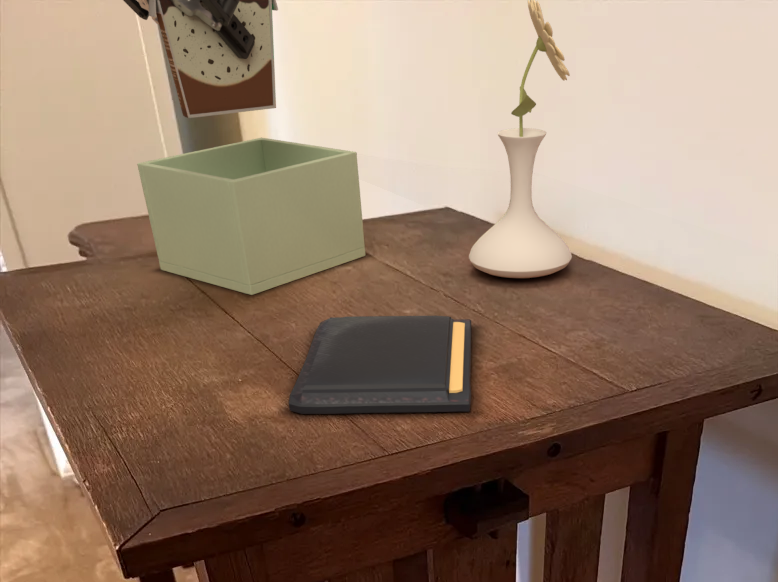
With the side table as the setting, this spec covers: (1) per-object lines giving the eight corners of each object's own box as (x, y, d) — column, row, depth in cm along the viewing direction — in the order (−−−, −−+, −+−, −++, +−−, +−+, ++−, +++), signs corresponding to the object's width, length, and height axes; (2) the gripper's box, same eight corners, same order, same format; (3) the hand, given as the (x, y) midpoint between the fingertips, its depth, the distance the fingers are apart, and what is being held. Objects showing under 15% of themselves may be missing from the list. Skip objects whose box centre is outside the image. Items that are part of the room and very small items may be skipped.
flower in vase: (557, 291, 96) (568, 3, 81) (455, 282, 99) (447, 2, 84) (584, 257, 106) (599, -6, 90) (490, 250, 109) (489, -7, 93)
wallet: (319, 307, 88) (477, 307, 87) (321, 327, 89) (478, 327, 88) (276, 392, 72) (469, 392, 71) (280, 415, 73) (470, 415, 73)
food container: (259, 99, 95) (243, -19, 89) (289, 106, 91) (275, -17, 85) (146, 111, 89) (121, -15, 83) (173, 119, 85) (149, -12, 79)
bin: (160, 269, 104) (136, 163, 97) (275, 235, 115) (261, 137, 108) (251, 295, 97) (232, 181, 90) (365, 255, 108) (356, 151, 101)
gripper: (156, -158, 70) (291, 16, 84) (52, -150, 77) (193, 10, 91) (114, -70, 70) (256, 90, 84) (13, -70, 77) (160, 77, 91)
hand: (223, 48), depth 88 cm, fingers closed on food container, 6 cm apart
